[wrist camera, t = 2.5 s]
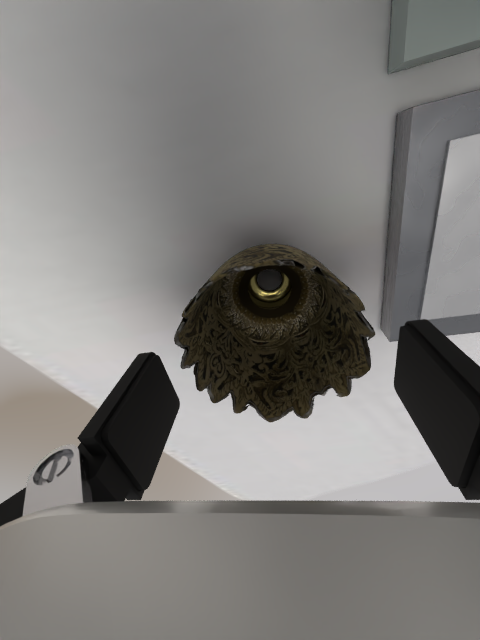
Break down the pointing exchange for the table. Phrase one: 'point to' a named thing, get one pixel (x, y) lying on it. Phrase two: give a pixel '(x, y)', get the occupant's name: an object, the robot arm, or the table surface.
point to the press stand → (431, 30)
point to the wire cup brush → (274, 333)
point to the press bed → (435, 219)
